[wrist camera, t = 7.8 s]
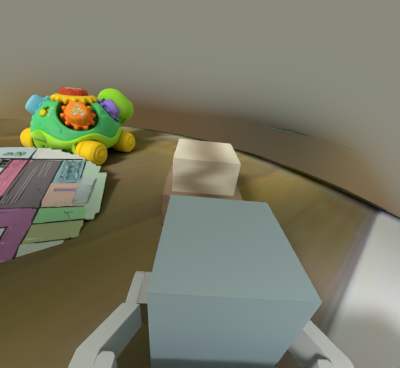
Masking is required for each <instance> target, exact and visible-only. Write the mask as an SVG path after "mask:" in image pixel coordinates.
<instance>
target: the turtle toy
mask: <svg viewBox="0 0 400 368" xmlns="http://www.w3.org/2000/svg"><path fill="white" fill-rule="evenodd" d="M25 108H26V110H27V111H28V112H30V113H31V114H33V116H32V120H31V123H30V124H31V128H27V129H25V130H24V131H23V132H22V133H21V135H20V140H21V142H22V144H23V145H24V146H25V147H35V149H36V148H51V150H61V151H62V152H66V153H73V154H74V155H76V154H79V156H80V157H83V158H85V161H91V162H92V163H93V164H96V166H100V165H102V164H103V163H104V162H105V161H106V159H107V148H110V147H113V148H114V149H115V150H118V151H122V152H130V151H131V150H132V149H133V148H134V146H135V138H134V136H133V135H132V134H131V133H129V132H125V131H122V126H121V125H120V124H123V123H125V122H127V121H128V120H129V119H130V118H131V116H132V114H133V110H134V109H133V104H132V103H131V102H130V101H129V100H128V99H127V98H126V97H125V96H124V95H123V94H122V93H121V92H119V91H118V90H116V89H111V88H109V89H104V90H103V91H101V92H100V93H99V95H98V98H96V97H94V96H92V95H88V93H87V91H86V90H84V89H80V88H64V87H63V88H61V89H59V93H58V94H53V95H52V96H46V98H43V97H40V96H38V95H33V96H32V97H31V98H30V99H29V100H28V102H27V104H26V106H25Z"/></svg>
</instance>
